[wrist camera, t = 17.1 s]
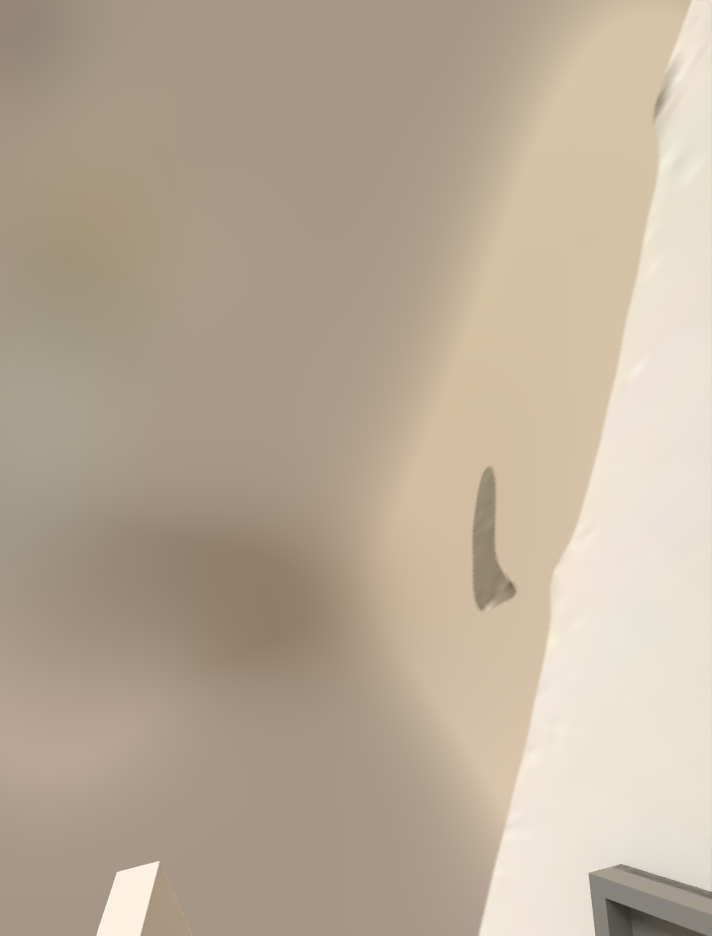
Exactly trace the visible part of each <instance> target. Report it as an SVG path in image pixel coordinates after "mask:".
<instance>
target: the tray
mask: <svg viewBox="0 0 712 936" xmlns="http://www.w3.org/2000/svg"><path fill="white" fill-rule="evenodd" d="M589 881H590V890H591V899H592V908H593V917H594V926H595V935H596V936H712V892H709V891H706V890H703V889H700V888H696V887H693V886H690V885H687V884H684V883H680V882H677V881H674V880H671V879H667V878H664V877H661V876H658V875H654V874H651V873H648V872H645V871H641V870H638V869H635V868H632V867H628V866H625V865H622V864H620V865H617V866H613V867H609V868H606V869H602V870H598V871H594V872H591V873H589Z"/></svg>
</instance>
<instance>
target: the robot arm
mask: <svg viewBox="0 0 712 936" xmlns="http://www.w3.org/2000/svg"><path fill="white" fill-rule="evenodd" d="M96 936H192V933H191V931H190V929H189V927H188V924H187V922H186V920H185V917H184V915H183V913H182V911H181V908H180V906H179V904H178V902H177V899H176V897H175V895H174V893H173V890H172V888H171V886H170V883H169V881H168V879H167V877H166V875H165V872H164V870H163V868H162V866H161V863H160V861H158V862H154V863H150V864H147V865H143V866H139V867H135V868H131V869H128V870H124V871H120V872H117V874H116V877H115V881H114V883H113V887H112V890H111V893H110V896H109V899H108V902H107V905H106V908H105V911H104V914H103V917H102V920H101V923H100V926H99V929H98V932H97V935H96Z"/></svg>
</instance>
